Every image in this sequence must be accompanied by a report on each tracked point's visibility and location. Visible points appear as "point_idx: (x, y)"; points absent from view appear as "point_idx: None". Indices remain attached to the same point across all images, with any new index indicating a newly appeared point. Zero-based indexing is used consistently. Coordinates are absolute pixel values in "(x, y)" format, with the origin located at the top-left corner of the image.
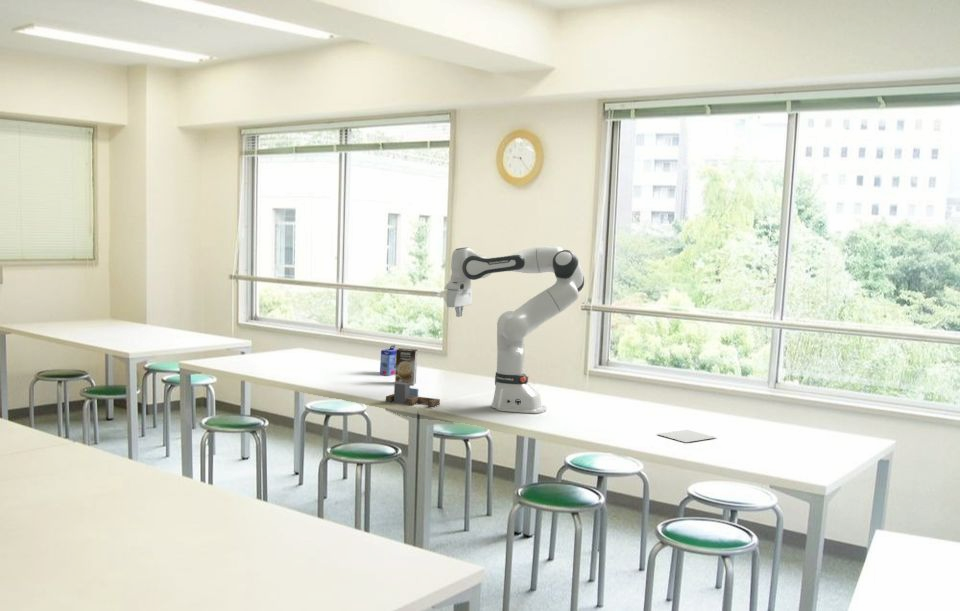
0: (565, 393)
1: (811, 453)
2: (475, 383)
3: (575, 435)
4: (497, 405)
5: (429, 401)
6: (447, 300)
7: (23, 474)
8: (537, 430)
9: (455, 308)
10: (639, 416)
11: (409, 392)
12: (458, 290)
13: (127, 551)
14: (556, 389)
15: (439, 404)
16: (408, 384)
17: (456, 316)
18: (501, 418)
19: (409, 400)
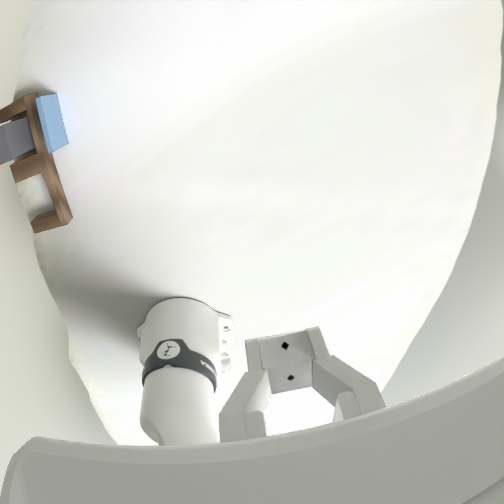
0: (400, 319)
1: None
2: (425, 112)
3: (113, 424)
4: (143, 328)
5: (32, 225)
6: (9, 496)
7: None
8: (91, 399)
9: (221, 422)
10: (273, 431)
11: (25, 152)
12: None
13: None
14: (433, 289)
15: (71, 218)
16: (7, 161)
17: (245, 341)
18: (96, 353)
19: (14, 174)
